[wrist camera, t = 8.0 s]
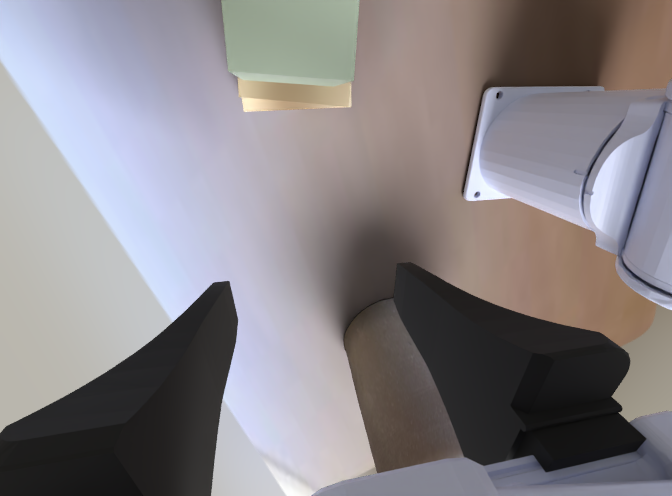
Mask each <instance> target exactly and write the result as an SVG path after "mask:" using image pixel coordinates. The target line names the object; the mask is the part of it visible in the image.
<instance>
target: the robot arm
mask: <svg viewBox="0 0 672 496" xmlns="http://www.w3.org/2000/svg"><path fill="white" fill-rule="evenodd" d="M498 92H499V97H498V98H496V94H497V93H498ZM476 192H477V195H476V196H474V194H475V193H476ZM463 197H464V199H466V200H468V201H476V200H489V199H503V198H514V199H516V200H519V201H521V202H523V203H526V204H528V205H531V206H533V207H535V208H538V209H540V210H543V211H545V212H548V213H550V214H552V215H555V216H557V217H560V218H562V219H565V220H567V221H569V222H572V223H574V224H577V225H579V226H581V227H584V228H586V229H589V230H591V231H594V232H595V234H596V246H598V247H600V248H602V249H604V250H607V251H609V252H611V253H613V254H615V255H617V258H616V263H615V267H616V271H617V273H618V275H619V276H620V278H621V279H622V280H623V281H624V282H625V283H626V284H627V285H628V286H629V287H630V288H632V289H633V290H634V291H636V292H637V293H639V294H640V295H642V296H644V297H645V298H647V299H649V300H651V301H653V302H655V303H657V304H659V305H661V306H663V307H665V308H667V309H670V310H672V79H671V80H670V81H669V82H668V85H667V88H666V89H639V90H612V91H604V88H603V87H602V86H558V87H491V88H488V89H487V90H486V91H485V92H484V95H483V99H482V104H481V109H480V114H479V119H478V124H477V129H476V134H475V139H474V144H473V149H472V154H471V159H470V164H469V169H468V174H467V179H466V184H465V189H464V194H463ZM393 301H394V303H395V306H396V309H397V311H398V314H399V316H400V319H401V321H402V322H403V324H404V326H405V328H406V330H407V331H408V333H409V335H410V337H411V338H412V340H413V342H414V344H415V345H416V347H417V349H418V351H419V352H420V354H421V356H422V358H423V359H424V361H425V363H426V365H427V367H428V369H429V371H430V373H431V375H432V378H433V380H434V382H435V385H436V387H437V389H438V391H439V394H440V396H441V399H442V401H443V403H444V406H445V408H446V411H447V413H448V416H449V418H450V421H451V423H452V426H453V429H454V431H455V434H456V437H457V439H458V442H459V444H460V447H461V450H462V453H463V456H464V458H448V459H442V460H438V461H433V462H428V463H424V464H419V465H414V466H410V467H405V468H400V469H396V470H391V471H386V472H382V473H377V474H373V475H368V476H363V477H358V478H354V479H349V480H344V481H341V482H338V483H335V484H333V485H330V486H327V487H324V488H321V489H320V490H318V491H317V492H316V493H314V494H313V495H312V496H672V412H671V411H664V412H659V413H655V414H650V415H645V416H641V417H638V418H635V419H634V420H632V421H631V422H628V421H627V420H626V419H625V418H623V417H622V416H621V415H620V414H619V413H618V412H621V411H622V406H621V405H620V404H619V403H617V401H615V400H614V399H613V398H612V397H611V396H612V395H613V393H614V392H615V390H616V389H617V388H618V386H619V385H620V383H621V382H622V380H623V378H624V377H625V376H626V374H627V372H628V370H629V366H630V358H629V354H628V353H627V352H626V351H625V350H624V349H622V348H621V347H619V346H618V345H617V344H615V343H614V342H613V341H611V340H610V339H609V338H607V337H606V336H604V335H603V334H601V333H600V332H595V331H590V330H585V329H580V328H575V327H570V326H565V325H561V324H557V323H553V322H549V321H545V320H541V319H537V318H534V317H531V316H527V315H524V314H521V313H518V312H515V311H512V310H509V309H506V308H503V307H500V306H497V305H495V304H492V303H490V302H487V301H485V300H482V299H480V298H478V297H476V296H473V295H471V294H469V293H467V292H465V291H463V290H461V289H459V288H457V287H455V286H453V285H451V284H449V283H447V282H445V281H444V280H442V279H440V278H438V277H437V276H435V275H433V274H431V273H429V272H428V271H426V270H424V269H422V268H421V267H419V266H417V265H415V264H413V263H411V262H408V263H398V264H397V270H396V280H395V290H394V300H393ZM237 326H238V317H237V313H236V309H235V304H234V300H233V295H232V291H231V287H230V282H229V281H224V282H215V283H213V284H212V285H211V286H210V287H209V288H208V289H207V290H206V291H205V292H204V293H203V294H202V295H201V296H200V297H199V298H198V299H197V300H196V301H195V302H194V303H193V304H192V305H191V306H190V307H189V308H188V309H187V310H186V311H185V312H184V313H183V314H182V315H180V316H179V317H178V318H177V319H176V320H175V321H174V322H173V323H172V324H170V325H169V326H168V327H167V328H166V329H165V330H164V331H163V332H161V333H160V334H159V335H158V336H157V337H155V338H154V339H153V340H152V341H150V342H149V343H148V344H146V345H145V346H144V347H142V348H141V349H140V350H138V351H137V352H136V353H134V354H133V355H131V356H130V357H128V358H127V359H125V360H124V361H122V362H121V363H119V364H118V365H116V366H115V367H113V368H112V369H110V370H109V371H107V372H106V373H104V374H103V375H101V376H99V377H98V378H96V379H94V380H93V381H91V382H89V383H88V384H86V385H84V386H82V387H81V388H79V389H77V390H75V391H74V392H72V393H70V394H69V395H66V396H65V397H63V398H61V399H59V400H57V401H56V402H53V403H52V404H50V405H48V406H46V407H44V408H42V409H40V410H38V411H36V412H34V413H32V414H30V415H28V416H26V417H24V418H22V419H20V420H18V421H16V422H14V423H12V424H10V425H8V426H6V427H5V428H4V429H3V431H2V432H1V433H0V496H211V489H212V479H213V469H214V459H215V450H216V441H217V434H218V425H219V418H220V411H221V403H222V399H223V394H224V389H225V385H226V381H227V377H228V373H229V369H230V365H231V360H232V356H233V352H234V348H235V343H236V336H237Z"/></svg>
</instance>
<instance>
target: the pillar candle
mask: <svg viewBox="0 0 672 496" xmlns="http://www.w3.org/2000/svg"><path fill="white" fill-rule="evenodd" d="M393 300H394V298H392V299H387V300H383V301H379V302H377V303H375V304H373V305H371V306H369V307H367V308H366V309H365V310H363V311H362V312H360V314H358V315H357V316H356V318H354V320H353V321H352V323H351V324H350V326H349V327H348V329H347V331H346V333H345V337H344V347H345V350H346V353H347V357H348V361H349V365H350V369H351V373H352V378H353V382H354V386H355V390H356V394H357V398H358V402H359V406H360V410H361V414H362V417H363V421H364V425H365V429H366V432H367V436H368V440H369V444H370V448H371V452H372V455H373V459H374V463H375V467H376V470H377V473H382V472H386V471H391V470H396V469H400V468H405V467H410V466H414V465H419V464H424V463H428V462H433V461H438V460H442V459H448V458H464V456H463V453H462V450H461V447H460V444H459V442H458V439H457V437H456V434H455V431H454V429H453V426H452V423H451V421H450V418H449V416H448V413H447V411H446V408H445V406H444V403H443V401H442V399H441V396H440V394H439V391H438V389H437V387H436V385H435V382H434V380H433V378H432V375H431V373H430V371H429V369H428V367H427V365H426V363H425V361H424V359H423V358H422V356H421V354H420V352H419V351H418V349H417V347H416V345H415V344H414V342H413V340H412V338H411V337H410V335H409V333H408V331H407V330H406V328H405V326H404V324H403V322H402V321H401V319H400V316H399V314H398V311H397V309H396V306H395V303H394V301H393Z"/></svg>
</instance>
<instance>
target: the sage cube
mask: <svg viewBox="0 0 672 496" xmlns="http://www.w3.org/2000/svg"><path fill="white" fill-rule="evenodd" d="M221 4H222V14H223V24H224V34H225V44H226V53H227V63H228V71H229V72H230V73H232V74H234V75H235V76H237V77H239V78H240V79H242V80H249V81H263V82H277V83H290V84H304V85H318V86H332V87H334V86H337V85H341V84H344V83H348V82H351V81H354V70H355V56H356V42H357V28H358V13H359V0H221Z"/></svg>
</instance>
